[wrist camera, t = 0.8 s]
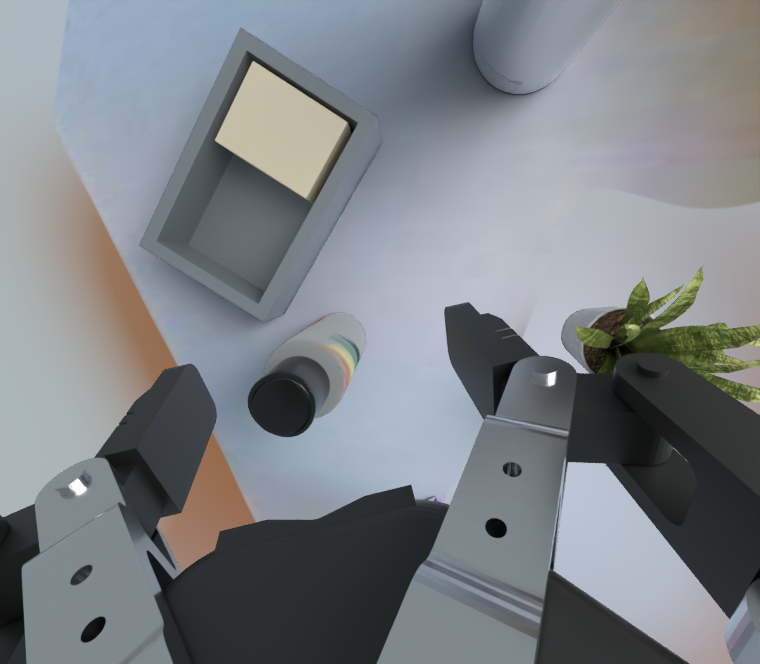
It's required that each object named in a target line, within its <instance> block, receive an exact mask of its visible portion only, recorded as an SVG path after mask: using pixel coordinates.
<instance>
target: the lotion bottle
mask: <svg viewBox="0 0 760 664" xmlns="http://www.w3.org/2000/svg"><path fill="white" fill-rule="evenodd" d="M365 343H366V335H365V331H364V328H363V326H362V325H361V323H360V322H359V321H358V320H357V319H356V318H354V317H353V316H351V315H349V314H345V313H333V314H330V315H327V316H325V317H323V318H322V319H320V320H319V321H317V322H316V323H314V324H312V325H311V326H309V327H308V328H306V329H305V330H303V331H302V332H300V333H299V334H297V335H295V336H294V337H292V338H291V339H289V340H288V341H286V342H285V343H283V344H282V345H281V346H279V347H278V348H277V349H276V350H275V351H274V352H273V353H272V354H271V356H270V357H269V359H268V361H267V363H266V365H265V369H264V375H263V377H262V378H261V379H260V380H258V381H257V382H256V383H255V385H254V386H253V387H252V389H251V391H250V393H249V397H248V408H249V411H250V413H251V415H252V417H253V419H254V420H255V421H256V422H257V423H258V424H259V425H260V426H261V427H262V428H263V429H264V430H266V431H268V432H270V433H272V434H275V435H278V436H282V437H293V436H297V435H299V434H301V433H303V432H304V431H306V430H307V429H308V428H309V426H310V425H311V423H312V422H313V420H314V419H315V418H318V417H321V416H323V415H325V414H327V413H329V412H330V411H331V410H332V409H334V408H335V407H336V406H337V404H338V403H339V402H340V400H341V398H342V396H343V394H344V392H345V390H346V388H347V386H348V384H349V382H350V380H351V377H352V375H353V373H354V371H355V369H356V366H357V364H358V362H359V360H360V358H361V355H362V353H363V351H364V348H365Z"/></svg>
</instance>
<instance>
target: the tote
mask: <svg viewBox="0 0 760 664" xmlns="http://www.w3.org/2000/svg"><path fill="white" fill-rule="evenodd" d="M253 61H254V62H256V63H257V64H259V65H261V66H262V67H264V68H265V69H267V70H268V71H270V72H271V73H273V74H274V75H276V76H277V77H279V78H280V79H282V80H284V81H285V82H287V83H288V84H290V85H291V86H293V87H294V88H296V89H297V90H299V91H300V92H302V93H304V94H305V95H307V96H308V97H310V98H311V99H313V100H314V101H316V102H317V103H319V104H320V105H322V106H324V107H325V108H327V109H328V110H330V111H331V112H333V113H334V114H336V115H337V116H339V117H340V118H342V119H344V120H345V121H347V122H348V125H349V127H350V130H351V133H352V135H351V137H350V139H349V141H348V143H347V145H346V146H345V148H344V150H343V152H342V154H341V155H340V157H339V159H338V161H337V163H336V164H335V166H334V168H333V170H332V172H331V173H330V175H329V177H328V179H327V181H326V183H325V184H324V186H323V188H322V190H321V192H320V193H319V195H318V197H317V199H316V201H315V202H314V204H312V203H310V202H309V201H307V200H306V199H304V198H303V197H301V196H299V195H298V194H296V193H295V192H293V191H292V190H290V189H288V188H287V187H285V186H284V185H282V184H281V183H279V182H277V181H276V180H274V179H273V178H271V177H270V176H268V175H266V174H265V173H263V172H262V171H260V170H259V169H257V168H255V167H254V166H252V165H251V164H249V163H248V162H246V161H244V160H243V159H241V158H240V157H238V156H237V155H235V154H234V153H232V152H231V151H229V150H228V149H226V148H225V147H223V146H222V145H220V144H219V143H217V142H216V141H215V139H216V137H217V135H218V132H219V130H220V128H221V126H222V124H223V122H224V120H225V118H226V116H227V114H228V112H229V110H230V107H231V105H232V103H233V101H234V99H235V97H236V95H237V93H238V91H239V89H240V87H241V85H242V82H243V80H244V78H245V76H246V74H247V72H248V70H249V68H250V66H251V64H252V62H253ZM381 144H382V137H381V130H380V124H379V117H377V116H376V115H374V114H373V113H371V112H369V111H368V110H366V109H365V108H363V107H362V106H360V105H359V104H357V103H356V102H354V101H353V100H351V99H350V98H348V97H347V96H345V95H343V94H342V93H340V92H339V91H337V90H336V89H334V88H333V87H331V86H330V85H328V84H327V83H325V82H324V81H322V80H321V79H319V78H318V77H316V76H314V75H313V74H311V73H310V72H308V71H307V70H305V69H304V68H302V67H301V66H299V65H298V64H296V63H295V62H293V61H292V60H290V59H288V58H287V57H285V56H284V55H282V54H281V53H279V52H278V51H276V50H275V49H273V48H272V47H270V46H269V45H267V44H266V43H264V42H262V41H261V40H259V39H258V38H256V37H255V36H253V35H252V34H250V33H249V32H247V31H246V30H244V29H243V28H240V30H239V32H238V34H237V36H236V38H235V41H234V43H233V45H232V47H231V49H230V51H229V53H228V56H227V58H226V60H225V62H224V64H223V66H222V68H221V71H220V73H219V75H218V77H217V79H216V81H215V84H214V86H213V88H212V90H211V92H210V94H209V96H208V99H207V101H206V103H205V105H204V107H203V109H202V111H201V114H200V116H199V118H198V120H197V122H196V124H195V126H194V129H193V131H192V133H191V135H190V137H189V139H188V141H187V144H186V146H185V148H184V150H183V152H182V154H181V157H180V159H179V161H178V163H177V165H176V167H175V169H174V172H173V174H172V176H171V178H170V180H169V182H168V184H167V187H166V189H165V191H164V193H163V195H162V197H161V199H160V202H159V204H158V206H157V208H156V210H155V212H154V215H153V217H152V219H151V221H150V223H149V225H148V227H147V230H146V232H145V234H144V236H143V238H142V240H141V242H140V245H139V246H140V247H142V248H144V249H145V250H147V251H149V252H150V253H152V254H153V255H155V256H157V257H158V258H160V259H162V260H163V261H165V262H166V263H168V264H170V265H171V266H173V267H175V268H176V269H178V270H179V271H181V272H183V273H184V274H186V275H188V276H189V277H191V278H193V279H194V280H196V281H197V282H199V283H201V284H202V285H204V286H206V287H207V288H209V289H210V290H212V291H214V292H215V293H217V294H219V295H220V296H222V297H223V298H225V299H227V300H228V301H230V302H232V303H233V304H235V305H236V306H238V307H240V308H241V309H243V310H245V311H246V312H248V313H249V314H251V315H253V316H254V317H256V318H258V319H259V320H261V321H263V322H265V321H268V320H270V319H273V318H275V317H278V316H280V315H283V314H285V312H286V310H287V308H288V307H289V305H290V303H291V301H292V300H293V298H294V296H295V294H296V293H297V291H298V289H299V287H300V286H301V284H302V282H303V280H304V279H305V277H306V275H307V273H308V272H309V270H310V268H311V266H312V265H313V263H314V261H315V259H316V258H317V256H318V254H319V252H320V251H321V249H322V247H323V245H324V244H325V242H326V240H327V238H328V237H329V235H330V233H331V231H332V230H333V228H334V226H335V224H336V223H337V221H338V219H339V217H340V216H341V214H342V212H343V210H344V208H345V207H346V205H347V203H348V201H349V200H350V198H351V196H352V194H353V193H354V191H355V189H356V187H357V186H358V184H359V182H360V180H361V179H362V177H363V175H364V173H365V172H366V170H367V168H368V166H369V165H370V163H371V161H372V159H373V158H374V156H375V154H376V152H377V151H378V149H379V147H380V145H381Z"/></svg>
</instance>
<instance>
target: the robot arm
mask: <svg viewBox="0 0 760 664" xmlns="http://www.w3.org/2000/svg"><path fill="white" fill-rule="evenodd" d="M620 1H621V0H483V1H482V5H481V8H480V11H479V14H478V18H477V21H476V24H475V29H474V34H473V52H474V57H475V61H476V63H477V66H478V68H479V70H480V72H481V73H482V75H483V76H484V77H485V79H486V80H487V81H488V82H489V83H491V84H492V85H493V86H494V87H496V88H498V89H500V90H502V91H504V92H508V93H512V94H526V93H531V92H535V91H537V90H539V89H542V88H544V87H546V86H547V85H548V84H550V83H551V82H552V81H554V80H555V79H556V78H557V77H558V76H559V75H560V73H561V72H562V71H563V70H564V69H565V68H566V66H567V65H568V64H569V63H570V62H571V60H572V59H573V58H574V57H575V55H576V54H577V53H578V52H579V51H580V50H581V48H582V47H583V46H584V45H585V44H586V42H587V41H588V40H589V39H590V38H591V36H592V35H593V34H594V33H595V31H596V30H597V29H598V28H599V27H600V25H601V24H602V23H603V22H604V21H605V19H606V18H607V17H608V16H609V14H610V13H611V12H612V11H613V10H614V8H615V7H616V6H617V5H618V3H619V2H620ZM444 314H445V325H446V335H447V345H448V353H449V357H450V361H451V364H452V366H453V368H454V370H455V372H456V373H457V375H458V377H459V378H460V380H461V382H462V383H463V385H464V387H465V389H466V390H467V392H468V394H469V395H470V397H471V399H472V400H473V402H474V404H475V406H476V407H477V409H478V411H479V412H480V414H481V416H482V418H483V419H484V421H483V424H482V426H481V429H480V431H479V434H478V436H477V439H476V441H475V444H474V446H473V449H472V451H471V454H470V456H469V459H468V461H467V464H466V466H465V469H464V471H463V474H462V476H461V479H460V481H459V484H458V486H457V489H456V491H455V494H454V496H453V499H452V501H451V504H450V505H448V504H445V503H441V502H437V501H429V500H415V498H414V494H413V490H412V486H411V485H408V486H404V487H400V488H396V489H392V490H388V491H384V492H380V493H375V494H371V495H367V496H364V497H362V498H360V499H358V500H356V501H354V502H352V503H350V504H348V505H346V506H344V507H342V508H340V509H338V510H336V511H334V512H332V513H330V514H327V515H325V516H323V517H321V518H319V519H315V520H265V521H261V522H257V523H253V524H249V525H244V526H240V527H236V528H232V529H228V530H224V531H220V533H219V537H218V541H217V544H216V548H215V551H213V552H211V553H209V554H207V555H206V556H204V557H202V558H201V559H199V560H197V561H196V562H195V563H193V564H192V565H190V566H189V567H188V568H186V569H185V570H184V571H183V572H181V570H180V568H179V566H178V564H177V562H176V560H175V558H174V556H173V554H172V552H171V550H170V548H169V545H168V544H167V541H166V539H165V537H164V536H163V533H162V532H161V531H160V529H159V528H158V527H157V524H158V522H159V519H160V518H161V517H165V516H170V515H174V514H178V513H181V512H182V509H183V506H184V504H185V501H186V499H187V496H188V494H189V491H190V488H191V486H192V483H193V480H194V478H195V475H196V472H197V470H198V467H199V465H200V462H201V459H202V457H203V454H204V451H205V449H206V446H207V444H208V441H209V438H210V436H211V433H212V431H213V428H214V425H215V423H216V417H217V413H216V407H215V404H214V401H213V399H212V397H211V395H210V393H209V391H208V389H207V387H206V386H205V384H204V382H203V380H202V378H201V376H200V374H199V372H198V370H197V368H196V367H195V366H194V365H193V364H187V365H182V366H178V367H173V368H169V369H165V370H164V371H163V372H162V373H161V375H160V376H159V378H158V379H157V380H156V382H155V383H154V385H153V386H152V387H151V389H149V390H148V391H147V392H146V393H144V394H143V395H142V396H141V397H140V398H139V399H137V400H136V401H135V402H134V404H133V405H132V406H131V408H130V409H129V411H128V412H127V415H126V416H124V418H123V419H122V420H121V422H120V423H119V426H117V427H116V429H115V430H114V431H113V433H112V434H111V436H110V437H109V438H108V440H107V441H106V442H105V444H104V445H103V447H102V448H101V450H100V451H99V452H98V453H97V455H96V456H95V458H92V459H88V460H85V461H82V462H80V463H77V464H75V465H73V466H71V467H69V468H68V469H66V470H64V471H63V472H61V473H60V474H58V475H57V476H56V477H54V478H53V479H52V480H51V481H50V482H49V483H47V484H46V486H45V487H44V488H43V489H42V490H41V491H40V493H39V494H38V496H37V498H36V500H35V504H33V505H31V506H29V507H26V508H24V509H22V510H20V511H17V512H15V513H12V514H10V515H8V516H6V517H2V516H1V515H0V664H689V663H688V662H686V661H685V660H683V659H682V658H680V657H679V656H677V655H676V654H674V653H673V652H671V651H670V650H669V649H667V648H666V647H664V646H663V645H661V644H660V643H658V642H657V641H655V640H654V639H653V638H651V637H649V636H648V635H647V634H645V633H644V632H642V631H641V630H639V629H638V628H636V627H635V626H633V625H632V624H630V623H629V622H628V621H626V620H625V619H623V618H622V617H620V616H619V615H617V614H616V613H614V612H613V611H612V610H610V609H609V608H607V607H606V606H604V605H602V604H601V603H600V602H598V601H597V600H595V599H594V598H593V597H591V596H590V595H588V594H587V593H585V592H584V591H582V590H581V589H579V588H578V587H576V586H575V585H574V584H572V583H570V582H569V581H568V580H566V579H565V578H563V577H562V576H560V575H559V574H557V573H556V572H554V566H555V558H556V550H557V542H558V533H559V525H560V517H561V510H562V503H563V495H564V488H565V481H566V472H567V466H568V462H584V463H585V462H586V463H605V464H606V465H607V466H608V467H609V469H610V470H611V471H612V472H613V474H614V475H615V476H616V477H617V479H618V480H619V481H620V482H621V484H622V485H623V486H624V487H625V489H626V490H627V491H628V493H629V494H630V495H631V496H632V498H633V499H634V500H635V501H636V503H637V504H638V505H639V506H640V508H641V509H642V510H643V511H644V512H645V514H646V515H647V516H648V518H649V519H650V520H651V521H652V523H653V524H654V525H655V526H656V528H657V529H658V530H659V531H660V533H661V534H662V535H663V536H664V538H665V539H666V540H667V541H668V542H669V544H670V545H671V546H672V548H673V549H674V550H675V551H676V553H677V554H678V555H679V556H680V558H681V559H682V560H683V561H684V563H685V564H686V565H687V567H688V568H689V569H690V570H691V572H692V573H693V574H694V575H695V577H697V579H698V580H699V582H700V583H701V584H702V585H703V587H704V588H705V589H706V590H707V592H708V593H709V594H710V595H711V597H712V598H713V599H714V600H715V602H716V603H717V604H718V605H719V607H720V608H721V609H722V610H723V612H725V614H726V615H727V617H728V618H729V619H730V620H729V622H728V624H727V627H726V632H725V639H726V645H727V648H728V652H729V655H730V657H731V659H732V661H733V663H734V664H760V415H758V414H757V413H755V412H754V411H753V410H751V409H749V408H748V407H747V406H745V405H744V404H742V403H741V402H739V401H738V400H736V399H735V398H733V397H732V396H730V395H729V394H727V393H726V392H724V391H723V390H721V389H720V388H718V387H717V386H715V385H714V384H712V383H711V382H709V381H708V380H706V379H705V378H703V377H702V376H700V375H699V374H697V373H696V372H694V371H693V370H691V369H690V368H688V367H687V366H685V365H684V364H682V363H680V362H679V361H677V360H674V359H672V358H669V357H666V356H662V355H658V354H651V353H633V354H628V355H625V356H622V357H621V358H619V359H618V360H617V361H616V363H615V368H614V373H595V374H580V373H576V370H575V369H574V368H573V367H572V366H571V365H570V364H569V363H567V362H565V361H563V360H561V359H558V358H554V357H548V356H539V355H538V354H537V353H536V352H535V351H534V350H533V349H532V348H531V347H530V346H529V345H528V344H527V343H526V342H525V341H524V340H523V339H522V338H521V337H520V336H519V335H518V336H517V333H516V332H515V331H514V330H513V329H510V326H508V325H507V324H506V323H505V322H504V321H503V320H502V319H501V318H498V317H496V316H494V315H491V314H489V313H487V314H482V315H480V314H479V313H478V311H477V310H476V309H475V308H474V307H473V306H472V305H471V304H470V303H469V302H467V303H462V304H458V305H453V306H449V307H446V308H445V311H444ZM673 448H675V449H676V450H677V451H678V452H679V453H680V454H681V455H682V456H683V457H684V458H685V459H686V460H687V461H688V462H687V461H686V460H685V459H684V458H683V457H682V456H681V455H680V454H679V453H678V452H677V451H676V450H675V449H673Z"/></svg>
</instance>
